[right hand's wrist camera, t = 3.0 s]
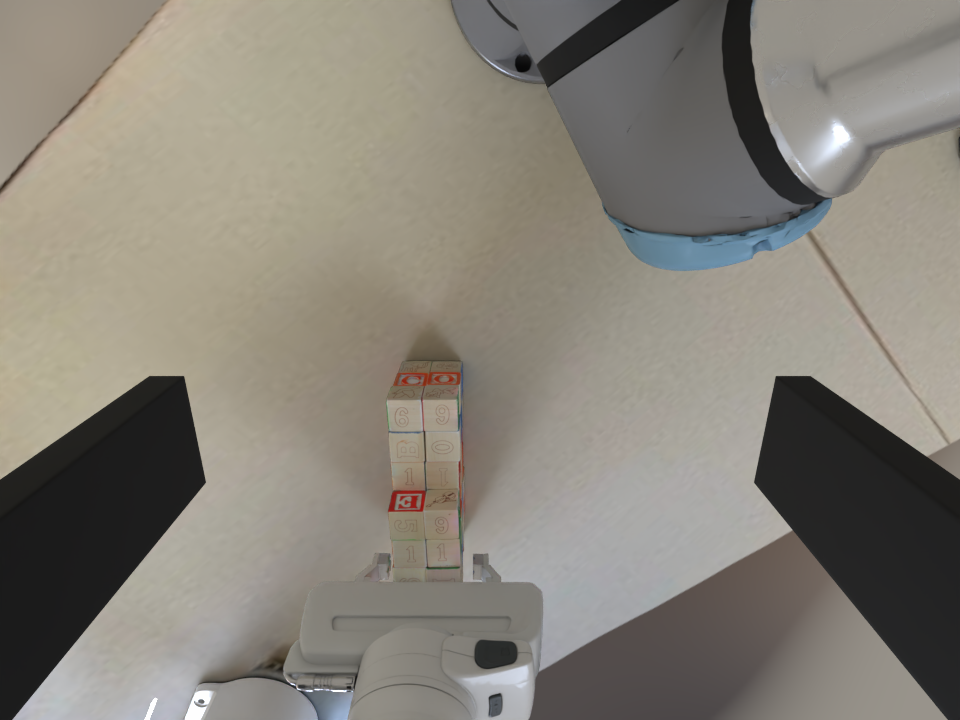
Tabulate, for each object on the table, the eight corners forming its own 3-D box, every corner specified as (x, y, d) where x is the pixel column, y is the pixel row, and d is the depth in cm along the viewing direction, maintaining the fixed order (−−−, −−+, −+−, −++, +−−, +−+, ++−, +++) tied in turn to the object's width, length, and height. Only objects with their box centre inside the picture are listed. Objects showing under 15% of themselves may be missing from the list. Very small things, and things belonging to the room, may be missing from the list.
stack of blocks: (400, 359, 56) (379, 415, 44) (463, 359, 56) (459, 414, 44) (409, 535, 63) (394, 622, 52) (465, 535, 63) (462, 622, 52)
